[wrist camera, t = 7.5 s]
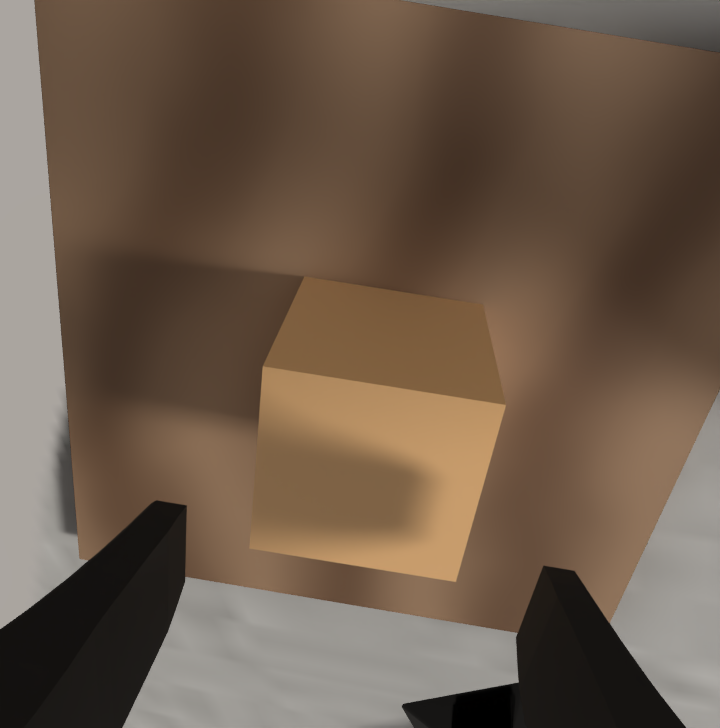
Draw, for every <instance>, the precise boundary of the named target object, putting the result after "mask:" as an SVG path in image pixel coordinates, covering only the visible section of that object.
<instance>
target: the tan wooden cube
mask: <svg viewBox="0 0 720 728" xmlns="http://www.w3.org/2000/svg"><path fill="white" fill-rule="evenodd" d="M505 407H506V403H505V398H504V394H503V389H502V385H501V381H500V376H499V372H498V368H497V363H496V359H495V355H494V350H493V346H492V342H491V337H490V333H489V328H488V324H487V320H486V315H485V311H484V307H483V305H482V304H476V303H470V302H463V301H457V300H451V299H444V298H438V297H432V296H425V295H419V294H413V293H406V292H400V291H394V290H387V289H381V288H375V287H368V286H362V285H356V284H349V283H343V282H336V281H330V280H324V279H317V278H311V277H305V276H304V279H303V281H302V283H301V285H300V287H299V289H298V291H297V294H296V296H295V298H294V300H293V302H292V304H291V307H290V309H289V311H288V313H287V315H286V317H285V319H284V322H283V324H282V326H281V328H280V330H279V332H278V335H277V337H276V339H275V341H274V343H273V345H272V347H271V350H270V352H269V354H268V356H267V358H266V360H265V363H264V365H263V370H262V383H261V397H260V411H259V424H258V438H257V451H256V465H255V479H254V492H253V506H252V519H251V533H250V547H249V549H255V550H261V551H268V552H274V553H280V554H286V555H292V556H298V557H305V558H311V559H317V560H323V561H329V562H336V563H342V564H348V565H354V566H360V567H366V568H373V569H379V570H385V571H391V572H397V573H403V574H410V575H416V576H422V577H428V578H434V579H441V580H447V581H453V582H456V580H457V576H458V573H459V569H460V566H461V562H462V559H463V555H464V552H465V548H466V545H467V541H468V537H469V534H470V530H471V527H472V523H473V520H474V516H475V513H476V509H477V506H478V502H479V499H480V495H481V492H482V488H483V485H484V481H485V478H486V474H487V471H488V467H489V463H490V460H491V456H492V453H493V449H494V446H495V442H496V439H497V435H498V432H499V428H500V425H501V421H502V418H503V414H504V411H505Z"/></svg>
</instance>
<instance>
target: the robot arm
mask: <svg viewBox="0 0 720 728" xmlns="http://www.w3.org/2000/svg"><path fill="white" fill-rule="evenodd" d="M186 522H187V505H182V504H176V503H170V502H164V501H158V500H156V501H154V502H152V503H151V504H150V505H149V506H148V507H147V508H146V509H145V510H143V511H142V512H141V513H140V514H139V515H138V516H137V517H136V518H135V519H134V520H133V521H132V522H131V523H130V524H129V525H128V526H127V527H126V528H125V529H123V530H122V531H121V532H120V533H119V534H118V535H117V536H116V537H115V538H114V539H113V540H111V541H110V542H109V543H108V544H107V545H106V546H105V547H104V548H103V549H101V550H100V551H99V552H98V553H97V554H96V555H95V556H93V557H92V558H91V559H90V560H89V561H88V562H86V563H85V564H84V565H83V566H82V567H81V568H79V569H78V570H77V571H76V572H75V573H74V574H72V575H71V576H70V577H69V578H68V579H66V580H65V581H64V582H63V583H61V584H60V585H59V586H57V587H56V588H55V589H54V590H52V591H51V592H50V593H48V594H47V595H46V596H45V597H43V598H42V599H41V600H40V601H38V602H37V603H36V604H34V605H33V606H32V607H31V608H29V609H28V610H27V611H25V612H24V613H22V614H21V615H20V616H18V617H17V618H16V619H14V620H13V621H11V622H10V623H9V624H7V625H6V626H4V627H3V628H2V629H0V728H122V727H123V725H124V723H125V721H126V719H127V717H128V715H129V713H130V710H131V708H132V706H133V704H134V702H135V700H136V698H137V696H138V694H139V692H140V689H141V687H142V685H143V683H144V681H145V679H146V677H147V675H148V673H149V671H150V669H151V666H152V664H153V662H154V660H155V658H156V656H157V654H158V652H159V649H160V647H161V645H162V643H163V641H164V639H165V636H166V634H167V632H168V630H169V627H170V624H171V621H172V618H173V616H174V613H175V610H176V607H177V604H178V601H179V598H180V595H181V592H182V589H183V586H184V583H185V564H186ZM516 644H517V663H518V678H519V691H520V697H521V703H522V709H523V714H524V720H525V725H526V728H686V727H685V726H684V724H683V723H682V722H681V721H680V719H679V718H678V717H677V716H676V714H675V713H674V712H673V710H672V709H671V708H670V707H669V705H668V704H667V703H666V702H665V700H664V699H663V698H662V696H661V695H660V694H659V693H658V691H657V690H656V689H655V687H654V686H653V685H652V683H651V682H650V681H649V679H648V678H647V676H646V675H645V674H644V672H643V671H642V669H641V668H640V667H639V665H638V664H637V662H636V661H635V660H634V658H633V657H632V655H631V654H630V653H629V651H628V650H627V648H626V647H625V645H624V644H623V642H622V641H621V640H620V638H619V637H618V635H617V634H616V632H615V631H614V629H613V628H612V626H611V625H610V623H609V622H608V620H607V619H606V617H605V616H604V614H603V613H602V611H601V610H600V608H599V607H598V605H597V604H596V602H595V601H594V599H593V598H592V596H591V595H590V593H589V592H588V590H587V588H586V587H585V585H584V584H583V582H582V581H581V580H580V578H579V577H578V575H577V574H576V572H575V571H573V570H567V569H561V568H555V567H549V566H543V568H542V570H541V573H540V576H539V578H538V581H537V584H536V586H535V589H534V592H533V594H532V597H531V599H530V602H529V605H528V607H527V610H526V613H525V615H524V618H523V621H522V623H521V626H520V629H519V631H518V634H517V636H516Z"/></svg>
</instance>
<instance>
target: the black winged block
mask: <svg viewBox="0 0 720 728" xmlns="http://www.w3.org/2000/svg"><path fill="white" fill-rule="evenodd" d="M402 708H403V710H404V711H405V713H406V715H407V716H408V718H409V720H410V722H411V723H412V725H413V727H414V728H526V725H525V720H524V714H523V709H522V703H521V697H520V691H519V683H514V684H509V685H503V686H498V687H492V688H487V689H481V690H476V691H471V692H465V693H460V694H454V695H449V696H443V697H438V698H433V699H427V700H422V701H416V702H411V703H406V704H403V705H402Z"/></svg>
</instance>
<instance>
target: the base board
mask: <svg viewBox="0 0 720 728" xmlns="http://www.w3.org/2000/svg"><path fill="white" fill-rule="evenodd" d="M35 13H36V26H37V37H38V50H39V63H40V74H41V88H42V99H43V112H44V125H45V136H46V149H47V161H48V174H49V187H50V198H51V211H52V224H53V236H54V247H55V260H56V273H57V286H58V298H59V309H60V323H61V335H62V347H63V360H64V372H65V384H66V397H67V409H68V422H69V434H70V446H71V459H72V471H73V483H74V496H75V508H76V521H77V533H78V545H79V558H80V559H84V560H90V559H91V558H92V557H93V556H95V555H96V554H97V553H98V552H99V551H100V550H101V549H103V548H104V547H105V546H106V545H107V544H108V543H109V542H110V541H111V540H113V539H114V538H115V537H116V536H117V535H118V534H119V533H120V532H121V531H122V530H123V529H125V528H126V527H127V526H128V525H129V524H130V523H131V522H132V521H133V520H134V519H135V518H136V517H137V516H138V515H139V514H140V513H141V512H142V511H143V510H145V509H146V508H147V507H148V506H149V505H150V504H151V503H152V502H154V501H156V500H158V501H164V502H170V503H176V504H182V505H187V522H186V564H185V577H191V578H197V579H203V580H209V581H214V582H220V583H226V584H232V585H238V586H244V587H250V588H256V589H262V590H268V591H274V592H280V593H285V594H291V595H297V596H303V597H309V598H315V599H321V600H327V601H333V602H339V603H345V604H351V605H356V606H362V607H368V608H374V609H380V610H386V611H392V612H398V613H404V614H410V615H416V616H422V617H427V618H433V619H439V620H445V621H451V622H457V623H463V624H469V625H475V626H481V627H487V628H492V629H498V630H504V631H510V632H516V633H518V631H519V629H520V626H521V623H522V621H523V618H524V615H525V613H526V610H527V607H528V605H529V602H530V599H531V597H532V594H533V592H534V589H535V586H536V584H537V581H538V578H539V576H540V573H541V570H542V568H543V566H549V567H555V568H561V569H567V570H573V571H575V572H576V574H577V575H578V577H579V578H580V580H581V581H582V582H583V584H584V585H585V587H586V588H587V590H588V592H589V593H590V595H591V596H592V598H593V599H594V601H595V602H596V604H597V605H598V607H599V608H600V610H601V611H602V613H603V614H604V616H605V617H606V619H607V620H608V622H609V623H610V621H611V619H612V617H613V615H614V612H615V610H616V608H617V606H618V604H619V602H620V600H621V598H622V596H623V593H624V591H625V589H626V587H627V585H628V583H629V581H630V579H631V576H632V574H633V572H634V570H635V568H636V566H637V564H638V562H639V559H640V557H641V555H642V553H643V551H644V549H645V547H646V545H647V542H648V540H649V538H650V536H651V534H652V532H653V530H654V528H655V525H656V523H657V521H658V519H659V517H660V515H661V513H662V511H663V508H664V506H665V504H666V502H667V500H668V498H669V496H670V494H671V491H672V489H673V487H674V485H675V483H676V481H677V479H678V477H679V475H680V472H681V470H682V468H683V466H684V464H685V462H686V460H687V458H688V455H689V453H690V451H691V449H692V447H693V445H694V443H695V441H696V438H697V436H698V434H699V432H700V430H701V428H702V426H703V424H704V421H705V419H706V417H707V415H708V413H709V411H710V409H711V407H712V404H713V402H714V400H715V398H716V396H717V394H718V392H719V390H720V53H719V52H713V51H707V50H700V49H694V48H688V47H682V46H676V45H670V44H664V43H658V42H652V41H645V40H639V39H633V38H627V37H621V36H615V35H609V34H603V33H597V32H590V31H584V30H578V29H572V28H566V27H560V26H554V25H548V24H542V23H536V22H529V21H523V20H517V19H511V18H505V17H499V16H493V15H487V14H481V13H474V12H468V11H462V10H456V9H450V8H444V7H438V6H432V5H426V4H419V3H413V2H407V1H401V0H35ZM304 276H305V277H311V278H317V279H324V280H330V281H336V282H343V283H349V284H356V285H362V286H368V287H375V288H381V289H387V290H394V291H400V292H406V293H413V294H419V295H425V296H432V297H438V298H444V299H451V300H457V301H463V302H470V303H476V304H482V305H483V307H484V311H485V315H486V320H487V324H488V328H489V333H490V337H491V342H492V346H493V350H494V355H495V359H496V363H497V368H498V372H499V376H500V381H501V385H502V389H503V394H504V398H505V403H506V407H505V411H504V414H503V418H502V421H501V425H500V428H499V432H498V435H497V439H496V442H495V446H494V449H493V453H492V456H491V460H490V463H489V467H488V471H487V474H486V478H485V481H484V485H483V488H482V492H481V495H480V499H479V502H478V506H477V509H476V513H475V516H474V520H473V523H472V527H471V530H470V534H469V537H468V541H467V545H466V548H465V552H464V555H463V559H462V562H461V566H460V569H459V573H458V576H457V580H456V582H453V581H447V580H441V579H434V578H428V577H422V576H416V575H410V574H403V573H397V572H391V571H385V570H379V569H373V568H366V567H360V566H354V565H348V564H342V563H336V562H329V561H323V560H317V559H311V558H305V557H298V556H292V555H286V554H280V553H274V552H268V551H261V550H255V549H249V547H250V533H251V519H252V506H253V492H254V479H255V465H256V451H257V438H258V424H259V411H260V397H261V383H262V370H263V365H264V363H265V360H266V358H267V356H268V354H269V352H270V350H271V347H272V345H273V343H274V341H275V339H276V337H277V335H278V332H279V330H280V328H281V326H282V324H283V322H284V319H285V317H286V315H287V313H288V311H289V309H290V307H291V304H292V302H293V300H294V298H295V296H296V294H297V291H298V289H299V287H300V285H301V283H302V281H303V279H304Z"/></svg>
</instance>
